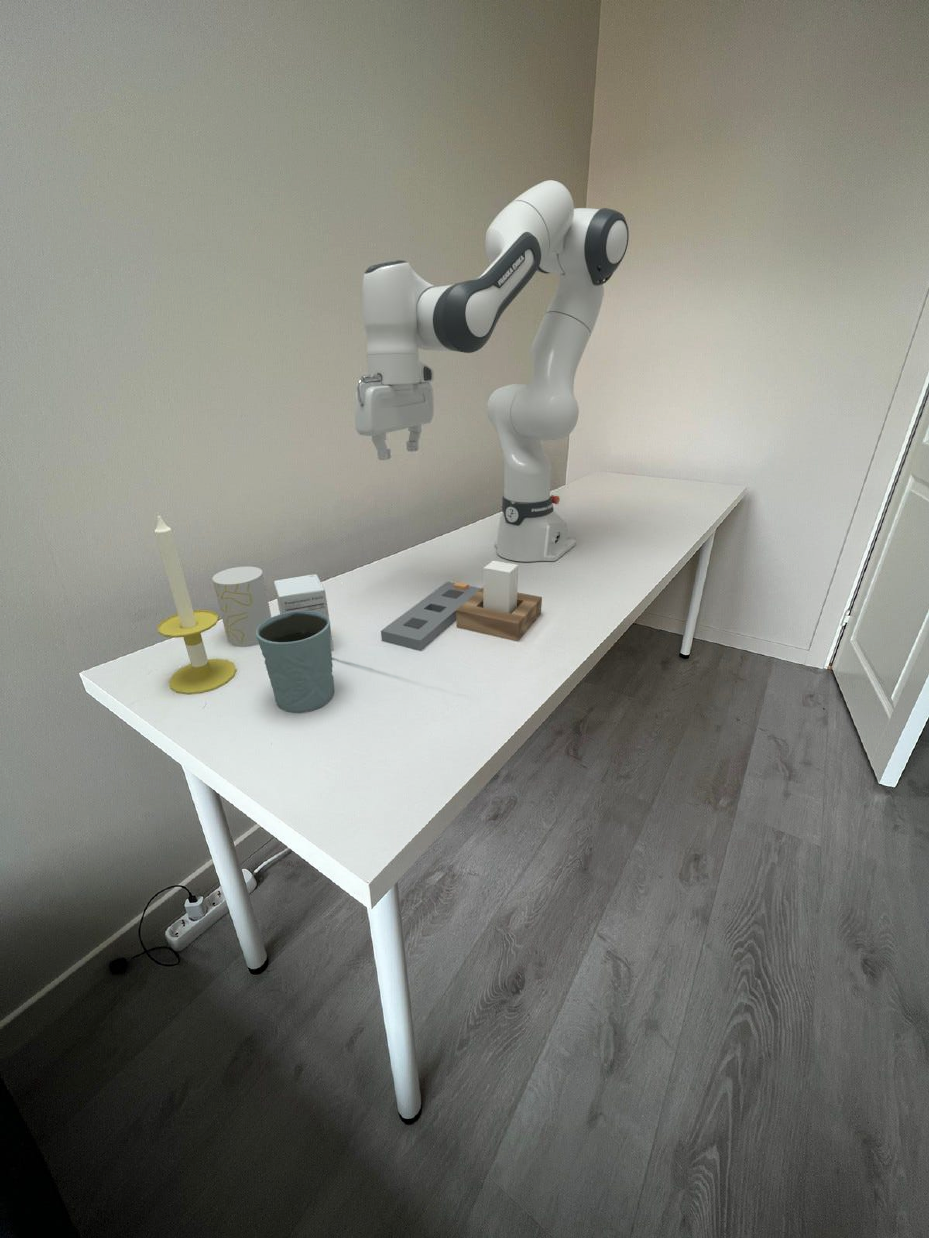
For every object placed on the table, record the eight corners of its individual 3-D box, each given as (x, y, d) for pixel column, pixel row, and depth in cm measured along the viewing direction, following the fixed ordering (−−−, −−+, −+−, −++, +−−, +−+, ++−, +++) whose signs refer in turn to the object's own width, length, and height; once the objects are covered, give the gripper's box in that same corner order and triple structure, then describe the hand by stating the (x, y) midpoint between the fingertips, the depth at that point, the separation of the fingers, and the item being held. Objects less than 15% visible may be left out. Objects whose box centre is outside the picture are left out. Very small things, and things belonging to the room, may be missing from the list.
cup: (217, 642, 96) (201, 580, 90) (248, 622, 103) (235, 564, 97) (254, 649, 93) (240, 586, 88) (283, 629, 100) (272, 569, 95)
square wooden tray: (484, 606, 108) (484, 586, 106) (540, 618, 103) (542, 597, 101) (456, 632, 98) (456, 610, 96) (517, 646, 93) (518, 623, 91)
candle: (188, 659, 91) (142, 503, 78) (246, 660, 90) (209, 502, 78) (156, 694, 82) (99, 523, 69) (220, 694, 81) (174, 523, 69)
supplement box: (285, 645, 95) (272, 579, 89) (327, 637, 97) (318, 572, 91) (290, 665, 89) (277, 596, 83) (335, 656, 91) (325, 588, 85)
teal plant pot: (274, 722, 75) (258, 649, 70) (267, 685, 83) (252, 617, 78) (346, 704, 79) (336, 633, 73) (332, 671, 87) (322, 604, 81)
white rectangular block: (492, 614, 103) (492, 560, 98) (516, 619, 101) (518, 564, 96) (483, 622, 100) (483, 568, 95) (508, 628, 97) (509, 572, 92)
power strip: (447, 594, 113) (447, 578, 111) (481, 601, 110) (481, 585, 108) (382, 645, 94) (380, 627, 92) (421, 655, 91) (419, 636, 89)
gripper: (373, 375, 83) (380, 466, 89) (438, 370, 99) (440, 447, 105) (340, 375, 85) (350, 464, 92) (409, 370, 101) (413, 445, 108)
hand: (399, 455), depth 98 cm, fingers open, 8 cm apart
